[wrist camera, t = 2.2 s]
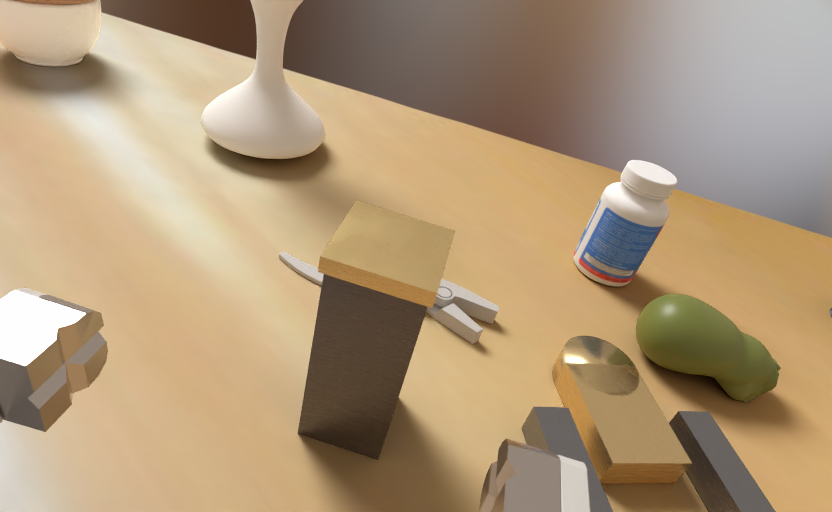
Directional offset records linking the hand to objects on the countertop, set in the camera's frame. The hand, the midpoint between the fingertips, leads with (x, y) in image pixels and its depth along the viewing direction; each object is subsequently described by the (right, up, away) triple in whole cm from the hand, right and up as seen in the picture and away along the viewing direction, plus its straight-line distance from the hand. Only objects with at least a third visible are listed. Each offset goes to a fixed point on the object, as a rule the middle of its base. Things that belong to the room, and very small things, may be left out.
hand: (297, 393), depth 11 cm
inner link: (+14, -7, +24) cm, 28 cm away
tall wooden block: (-1, -6, +19) cm, 20 cm away
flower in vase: (-12, +14, +43) cm, 47 cm away
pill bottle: (+19, +1, +37) cm, 42 cm away
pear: (+23, -6, +29) cm, 37 cm away
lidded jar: (-36, +24, +46) cm, 63 cm away
